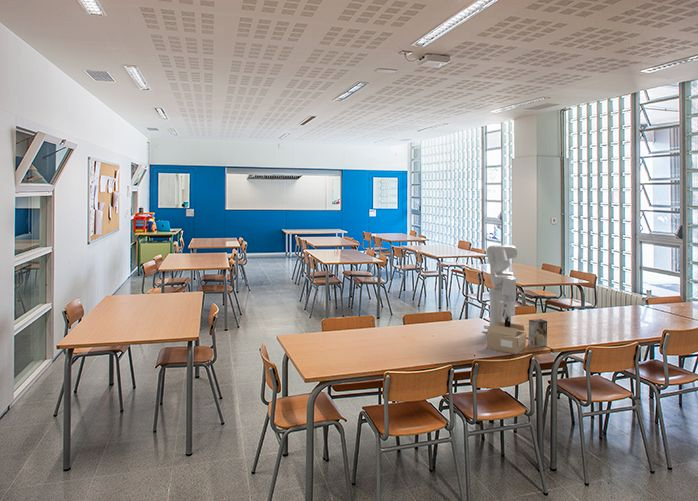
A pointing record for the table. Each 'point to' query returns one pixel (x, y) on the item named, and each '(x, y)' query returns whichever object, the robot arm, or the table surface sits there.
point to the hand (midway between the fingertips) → (507, 327)
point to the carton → (506, 342)
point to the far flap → (512, 326)
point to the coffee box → (537, 333)
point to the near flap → (503, 330)
